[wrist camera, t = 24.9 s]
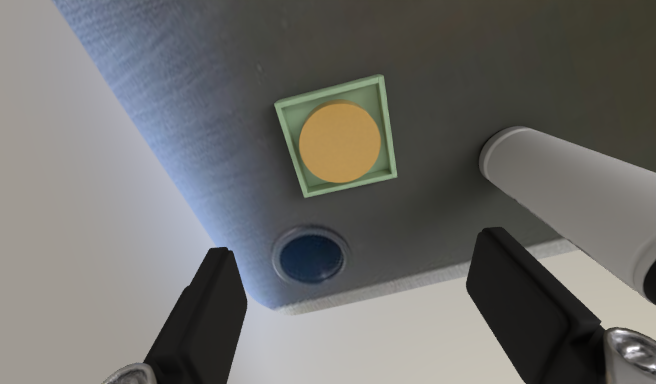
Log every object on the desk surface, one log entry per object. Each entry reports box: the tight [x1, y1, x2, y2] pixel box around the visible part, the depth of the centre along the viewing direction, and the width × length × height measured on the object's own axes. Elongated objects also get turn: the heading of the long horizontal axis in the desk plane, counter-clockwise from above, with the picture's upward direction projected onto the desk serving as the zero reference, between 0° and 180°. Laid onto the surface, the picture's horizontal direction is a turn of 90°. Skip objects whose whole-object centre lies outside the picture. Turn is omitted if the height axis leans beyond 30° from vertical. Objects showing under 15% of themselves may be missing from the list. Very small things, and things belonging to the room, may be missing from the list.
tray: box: [274, 74, 397, 198], centre depth 26 cm, size 10×10×2 cm
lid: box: [299, 99, 381, 183], centre depth 26 cm, size 8×8×3 cm
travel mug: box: [479, 126, 656, 305], centre depth 19 cm, size 6×7×20 cm
